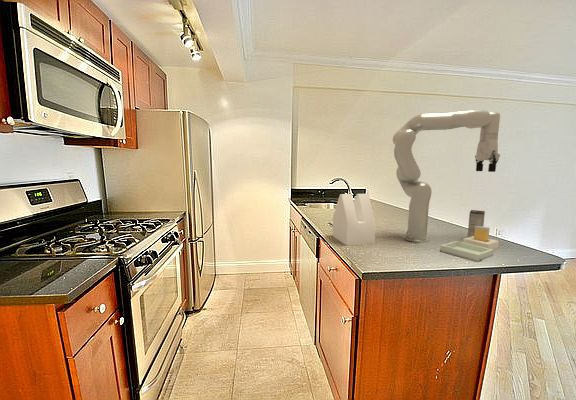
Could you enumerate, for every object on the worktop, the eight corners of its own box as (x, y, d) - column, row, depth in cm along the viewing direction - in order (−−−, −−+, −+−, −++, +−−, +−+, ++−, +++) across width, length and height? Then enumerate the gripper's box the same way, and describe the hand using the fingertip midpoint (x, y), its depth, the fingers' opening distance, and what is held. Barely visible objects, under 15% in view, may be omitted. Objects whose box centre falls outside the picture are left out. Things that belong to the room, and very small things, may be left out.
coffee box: (468, 237, 153) (470, 209, 150) (482, 239, 149) (485, 210, 147) (466, 241, 145) (469, 211, 143) (481, 243, 142) (484, 213, 139)
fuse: (484, 248, 132) (486, 228, 130) (473, 245, 136) (475, 226, 135) (487, 247, 133) (489, 227, 132) (476, 244, 138) (478, 225, 136)
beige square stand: (487, 252, 127) (488, 244, 127) (462, 246, 137) (463, 238, 136) (498, 248, 133) (499, 240, 132) (473, 243, 142) (474, 235, 142)
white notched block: (332, 236, 156) (333, 192, 152) (357, 234, 159) (359, 192, 156) (346, 245, 137) (348, 196, 134) (374, 244, 140) (377, 196, 137)
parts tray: (477, 261, 115) (478, 255, 115) (440, 251, 129) (440, 245, 128) (492, 256, 122) (493, 249, 122) (455, 246, 136) (456, 241, 136)
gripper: (470, 139, 148) (467, 170, 151) (492, 136, 131) (489, 171, 134) (484, 139, 148) (481, 171, 150) (508, 136, 131) (504, 172, 133)
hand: (485, 171), depth 142 cm, fingers open, 9 cm apart
